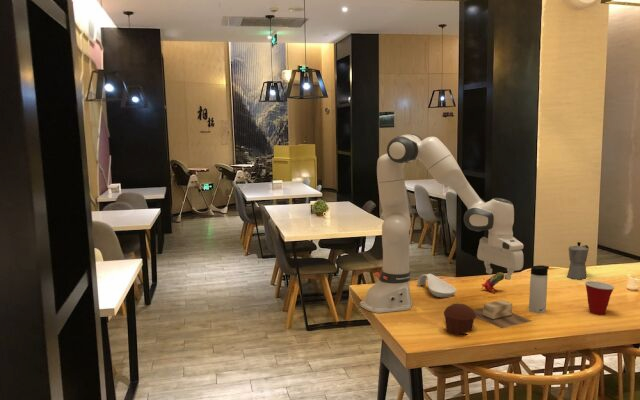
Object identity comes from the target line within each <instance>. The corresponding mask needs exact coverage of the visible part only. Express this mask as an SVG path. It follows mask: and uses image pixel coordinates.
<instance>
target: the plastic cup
mask: <svg viewBox="0 0 640 400" xmlns="http://www.w3.org/2000/svg"><path fill="white" fill-rule="evenodd" d="M584 284H585V289H586V290H585V291H586V296H587V304H588V311H589V313H590V314H593V315H596V314H597V315H598V316H603V315H605V314H606V313H607V309H608V306H609V303H610V299H611V296H612V292H613V290H614V289H616V288H615V286H614V285H612V284H609V283H606V282H601V281H594V280H586V281H584Z"/></svg>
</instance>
